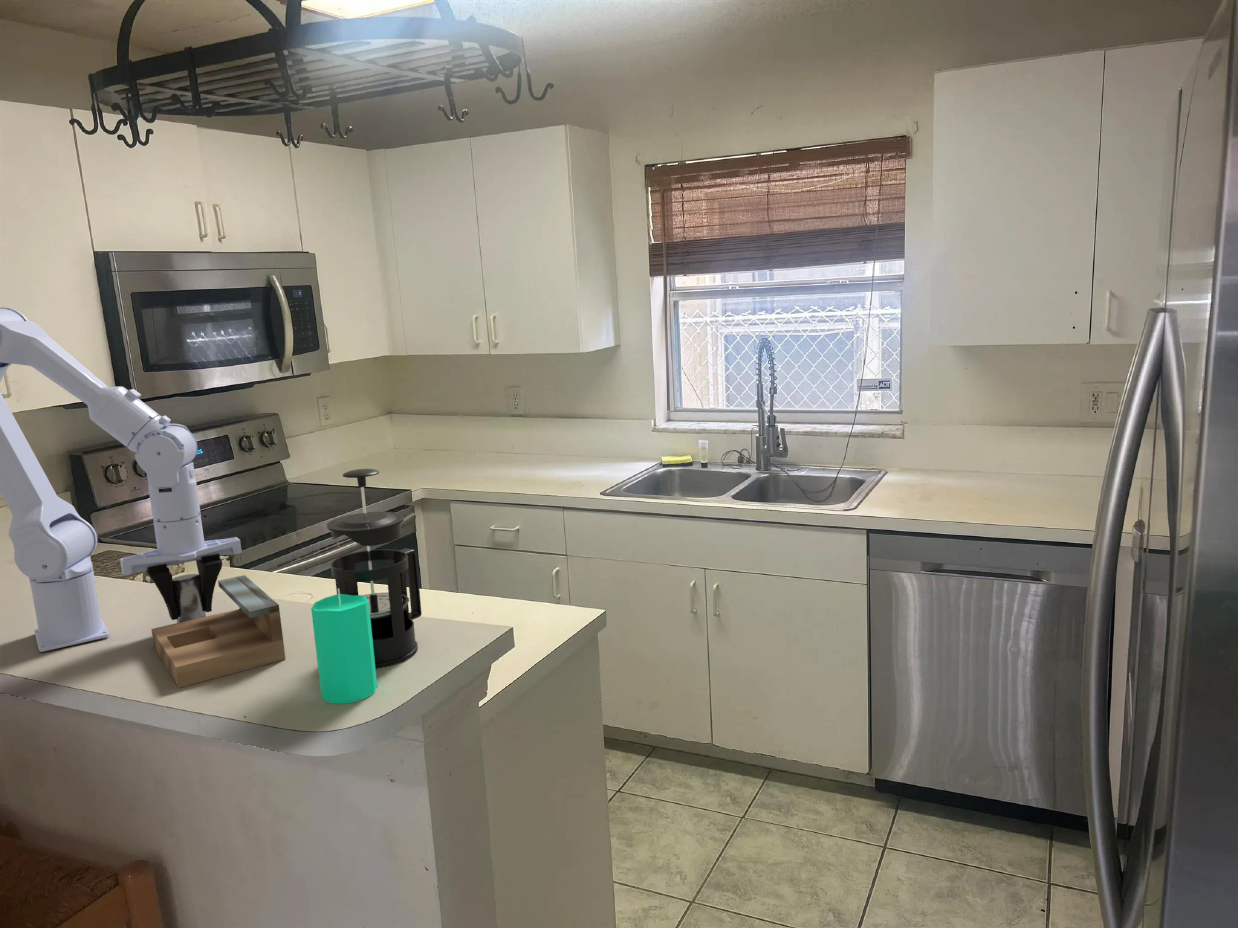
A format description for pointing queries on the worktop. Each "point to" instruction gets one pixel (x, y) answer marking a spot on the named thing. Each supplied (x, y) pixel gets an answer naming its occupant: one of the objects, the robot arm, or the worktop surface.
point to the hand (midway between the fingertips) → (190, 613)
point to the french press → (380, 577)
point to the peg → (188, 597)
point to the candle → (344, 648)
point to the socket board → (223, 637)
